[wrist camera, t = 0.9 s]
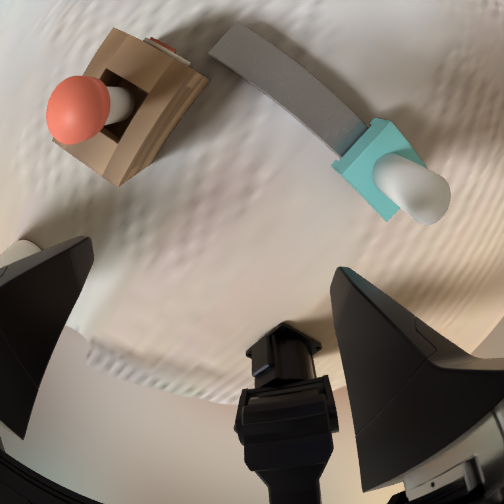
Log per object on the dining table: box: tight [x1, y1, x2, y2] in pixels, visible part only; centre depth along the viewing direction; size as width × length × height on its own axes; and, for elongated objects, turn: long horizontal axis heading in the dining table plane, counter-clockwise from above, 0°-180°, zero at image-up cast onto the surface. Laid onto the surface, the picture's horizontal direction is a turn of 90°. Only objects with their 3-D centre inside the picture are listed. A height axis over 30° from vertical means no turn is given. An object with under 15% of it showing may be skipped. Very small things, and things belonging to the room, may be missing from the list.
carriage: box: [331, 118, 451, 225], centre depth 15 cm, size 5×5×8 cm
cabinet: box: [52, 27, 210, 187], centre depth 15 cm, size 6×8×6 cm
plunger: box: [46, 76, 135, 145], centre depth 11 cm, size 3×3×5 cm
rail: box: [208, 22, 369, 159], centre depth 17 cm, size 16×3×2 cm, turn 51°
